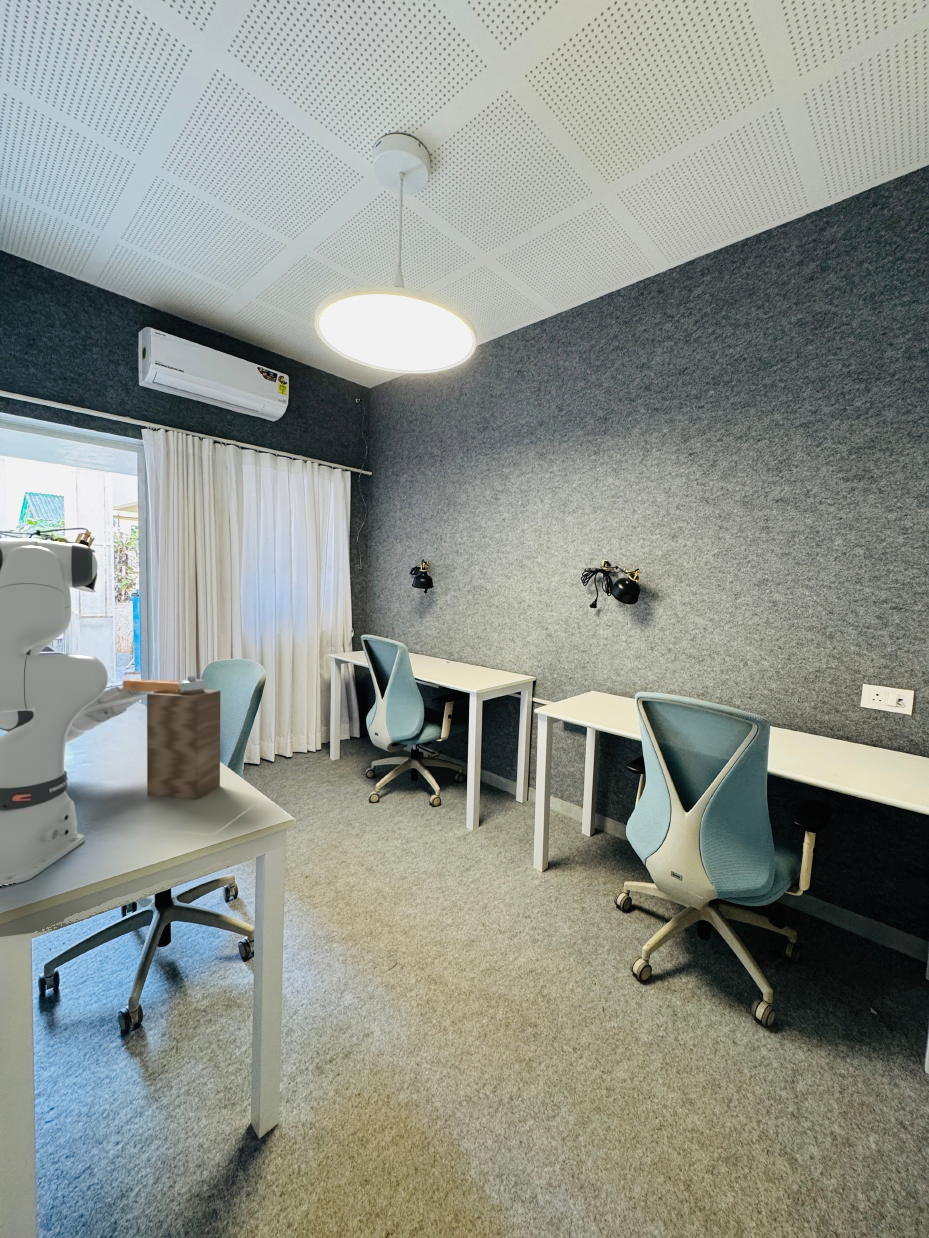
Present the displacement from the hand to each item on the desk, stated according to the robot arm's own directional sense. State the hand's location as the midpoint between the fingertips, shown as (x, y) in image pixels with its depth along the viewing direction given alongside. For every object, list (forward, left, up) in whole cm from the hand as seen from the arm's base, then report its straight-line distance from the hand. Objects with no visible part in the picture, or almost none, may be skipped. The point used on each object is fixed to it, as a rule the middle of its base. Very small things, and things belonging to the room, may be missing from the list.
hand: (132, 686), depth 130 cm
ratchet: (-3, -9, -1) cm, 9 cm away
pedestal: (-6, -14, -27) cm, 31 cm away
